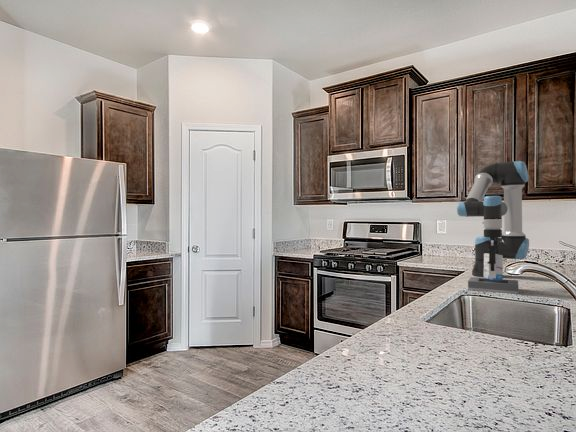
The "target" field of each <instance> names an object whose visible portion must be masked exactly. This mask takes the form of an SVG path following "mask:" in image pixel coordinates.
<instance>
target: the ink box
mask: <svg viewBox="0 0 576 432" xmlns="http://www.w3.org/2000/svg"><path fill="white" fill-rule="evenodd" d="M495 257H496V258H495V261H496V263H495V264H496V278H489V264H488V263H487V262H489V253H484V277H483V278H487V279H490V280H503V279H504V278H503V275H504V274H503V267H504V263H503V261H504V258H503V255H498V254H496V255H495Z"/></svg>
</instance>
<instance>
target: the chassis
mask: <svg viewBox="0 0 576 432" xmlns="http://www.w3.org/2000/svg"><path fill="white" fill-rule="evenodd" d="M467 290H468V291H479V292H480V291H481V292H492V293H502V294H504V293H505V294H515V295H516V294H517V295H519V280H518V279H517V280H516V279H504V278H503V280H490V279H487V278H484V277H478V276H475V277H474V276H471V277H470V278H469V279H468V281H467Z"/></svg>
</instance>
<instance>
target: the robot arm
mask: <svg viewBox="0 0 576 432" xmlns="http://www.w3.org/2000/svg"><path fill="white" fill-rule="evenodd" d="M473 181H474V182H473V185H472V187H471V189H470V191H469V193H468V195H467V197H466V199H465V200H464V201H460V202H458V203H457V206H456V213H457V215H458V216H459V217H466V218H468V217H469V218H470V217H483V221H482V224H483V228H484V229H483V236H476V238H475V240H474V241H475V242H474V255H475V257H474V260H475V261H474V264H473V267H472V270H471V275H472V276H473V277H474V276H475V277H479V278H484V253H489V262H487V263H488V264H489V278H496V264H495V263H496V261H495V258H496V257H495V255H496V254H498V255H503V259H507V260H508V259H509V260H524V259H526V258H527V257H528V254H529V248H530V239H529V238H527V237H526V234H525V233H524V231H523V198H522V197H523V194H522V193H523V190H522V189H523V188H524V187H525V185H526V183H527V182H529V171H528V168H527V164H526V162H525V161H523V160H522V161H521V160H519V161H518V160H517V161H506V162H493V163H490V164H488V165H486V166H484V167H482V168H481V169H479V171H478V172H477V173H476V174H475V176H474V179H473ZM494 184H495V185H497V184H500V187H501V188H502V189H503V199H502V196H500V195H486V193H487V191H488V189H489V188H490V187H491V186H492V185H494ZM485 195H486V196H485ZM503 218H504V221H503V220H502V219H503ZM503 222H504V224H503ZM503 226H504V228H503ZM502 228H503V229H504V230H502ZM503 231H504V232H503Z"/></svg>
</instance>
